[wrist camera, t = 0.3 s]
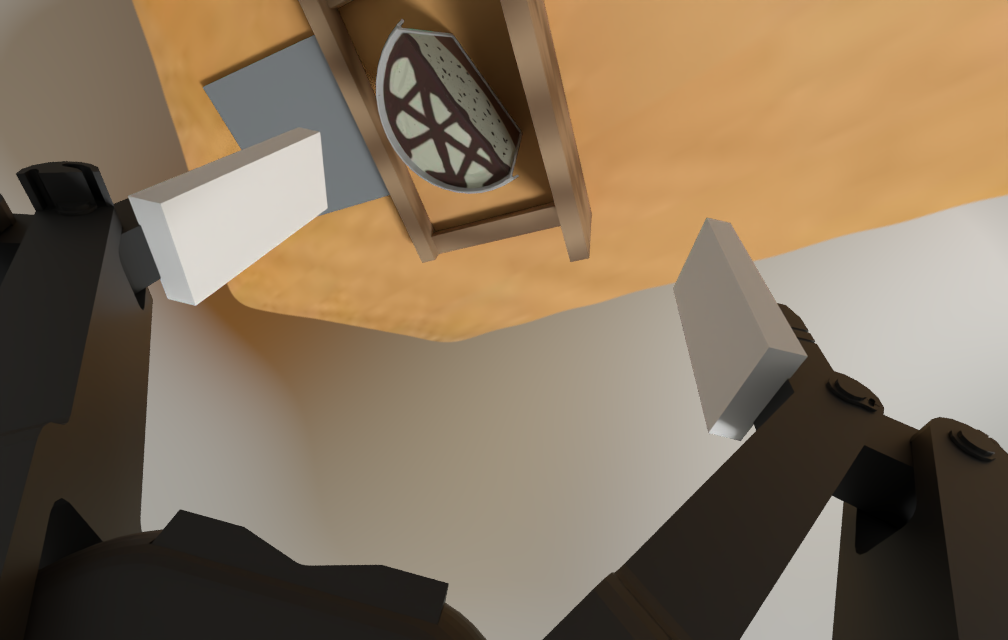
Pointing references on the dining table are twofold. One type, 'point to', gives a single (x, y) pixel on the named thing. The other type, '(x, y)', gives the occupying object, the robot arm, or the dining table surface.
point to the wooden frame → (548, 117)
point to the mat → (301, 117)
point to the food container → (444, 113)
